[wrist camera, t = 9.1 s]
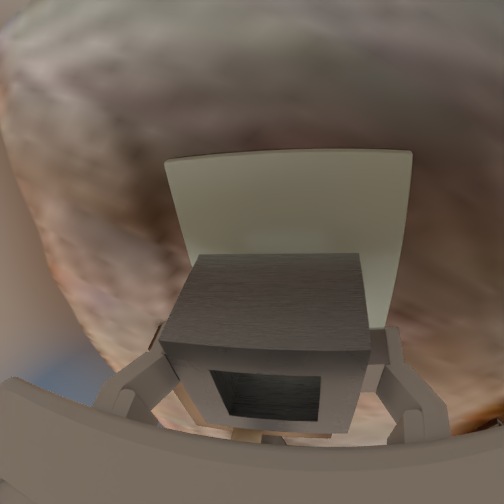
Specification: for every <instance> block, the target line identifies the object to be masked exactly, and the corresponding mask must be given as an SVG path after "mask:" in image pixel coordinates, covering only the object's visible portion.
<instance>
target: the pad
mask: <svg viewBox="0 0 504 504" xmlns="http://www.w3.org/2000/svg"><path fill="white" fill-rule="evenodd" d="M412 158H413V154H412V152H411V151H408V150H387V149H288V150H266V151H249V152H235V153H223V154H212V155H201V156H192V157H183V158H174V159H167V160H166V161H165V162H164V166H165V170H166V174H167V178H168V182H169V186H170V190H171V194H172V198H173V202H174V205H175V209H176V213H177V216H178V220H179V224H180V227H181V231H182V234H183V238H184V241H185V245H186V248H187V252H188V255H189V259H190V262H191V265H192V268H193V266H194V264H195V262H196V260H197V258H198V256H199V254H303V253H359V256H360V263H361V269H362V276H363V282H364V289H365V297H366V305H367V313H368V321H369V328H374V327H385V323H386V319H387V315H388V311H389V307H390V303H391V298H392V294H393V289H394V285H395V280H396V275H397V270H398V265H399V259H400V254H401V248H402V242H403V236H404V229H405V223H406V216H407V208H408V200H409V191H410V182H411V171H412Z"/></svg>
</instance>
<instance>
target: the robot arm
mask: <svg viewBox="0 0 504 504" xmlns="http://www.w3.org/2000/svg"><path fill="white" fill-rule="evenodd" d="M166 322H167V321H165V322H164V323H163V324H162V326H161V328H160V331H159V333H158V335H157V337H156V339H155V341H154V343H153V345H152V347H151V350H150V352H145V353H144V354H143V355H141V356H140V357H138V358H137V359H136V360H134V361H133V362H132V363H130V364H129V365H127V366H126V367H125V368H123V369H122V370H121V371H119V372H118V373H116V374H115V375H114V376H112V377H111V378H110V379H108V380H107V381H105V382H104V384H103V386H102V388H101V390H100V392H99V394H98V396H97V398H96V400H95V402H94V404H93V406H92V407H89V406H87V405H84V404H81V403H78V402H75V401H73V400H70V399H67V398H65V397H62V396H59V395H57V394H55V393H52V392H50V391H47V390H45V389H42V388H40V387H38V386H36V385H33V384H31V383H29V382H27V381H25V380H23V379H21V378H18V377H11V378H9V379H7V380H5V381H3V382H2V383H0V504H504V425H502V426H498V427H494V428H490V429H486V430H482V431H478V432H473V433H468V434H463V435H458V436H453V437H451V434H450V426H449V419H448V412H447V406H446V404H445V403H444V402H443V401H442V400H441V398H440V397H439V396H438V395H437V394H436V393H435V392H434V391H433V390H432V389H431V387H430V386H429V385H428V384H427V383H426V382H425V381H424V380H423V379H422V378H421V376H420V375H419V374H418V373H417V372H416V371H415V370H414V369H413V368H412V367H411V366H410V365H409V364H405V362H404V356H403V350H402V344H401V338H400V333H399V329H398V327H374V328H369V331H370V340H371V354H370V358H369V362H368V366H367V370H366V373H365V377H364V381H363V384H362V388H361V391H360V392H376V394H377V395H378V397H379V398H380V400H381V401H382V403H383V404H384V406H385V407H386V409H387V410H388V412H389V413H390V415H391V416H392V418H393V419H394V420H395V422H396V423H397V425H396V426H395V428H394V429H393V431H392V433H391V434H390V436H389V437H388V439H387V445H378V446H358V447H307V446H287V445H273V444H261V443H252V442H243V441H235V440H228V439H221V438H214V437H208V436H202V435H197V434H191V433H186V432H181V431H176V430H172V429H167V428H163V427H158V426H157V425H158V422H159V421H158V419H157V418H156V417H155V416H154V415H153V413H152V412H151V410H152V409H153V408H154V407H155V406H156V405H157V404H158V403H159V402H160V401H161V400H162V399H163V398H164V397H165V396H167V395H168V394H169V393H170V392H171V391H172V390H173V389H174V388H175V387H176V386H177V385H178V384H179V383H180V379H179V377H178V375H177V374H176V372H175V370H174V368H173V367H172V365H171V363H170V361H169V359H168V358H167V356H166V354H165V352H164V350H163V349H162V347H161V345H160V343H159V341H158V339H159V337H160V335H161V333H162V331H163V328H164V326H165V324H166Z"/></svg>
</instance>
